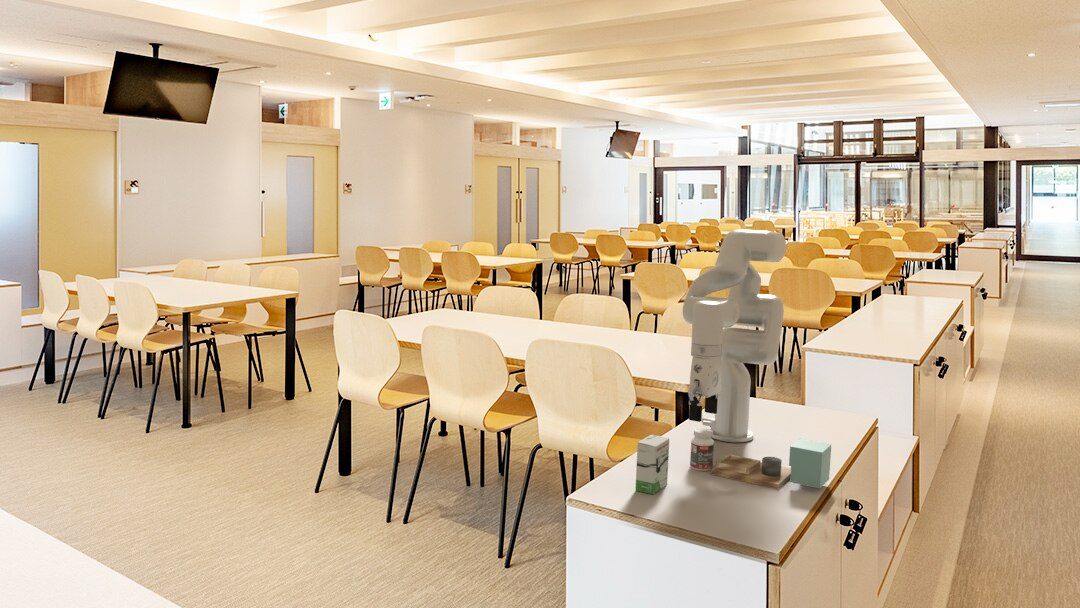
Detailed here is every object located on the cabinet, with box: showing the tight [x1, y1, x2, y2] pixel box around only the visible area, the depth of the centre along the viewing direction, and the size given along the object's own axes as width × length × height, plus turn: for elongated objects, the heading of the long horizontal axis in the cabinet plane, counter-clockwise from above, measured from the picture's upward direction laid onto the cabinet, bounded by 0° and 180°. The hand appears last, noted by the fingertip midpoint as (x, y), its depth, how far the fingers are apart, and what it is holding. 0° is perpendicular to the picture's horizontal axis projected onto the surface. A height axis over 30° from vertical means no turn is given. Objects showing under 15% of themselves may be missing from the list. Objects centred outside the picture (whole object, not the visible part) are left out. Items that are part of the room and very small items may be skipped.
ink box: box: [635, 434, 670, 495], centre depth 198 cm, size 9×5×12 cm, turn 148°
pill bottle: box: [689, 427, 715, 472], centre depth 212 cm, size 6×6×10 cm
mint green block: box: [788, 438, 832, 489], centre depth 201 cm, size 8×8×9 cm
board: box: [710, 453, 791, 490], centre depth 209 cm, size 17×13×5 cm
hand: (703, 416), depth 211 cm, fingers open, 9 cm apart
